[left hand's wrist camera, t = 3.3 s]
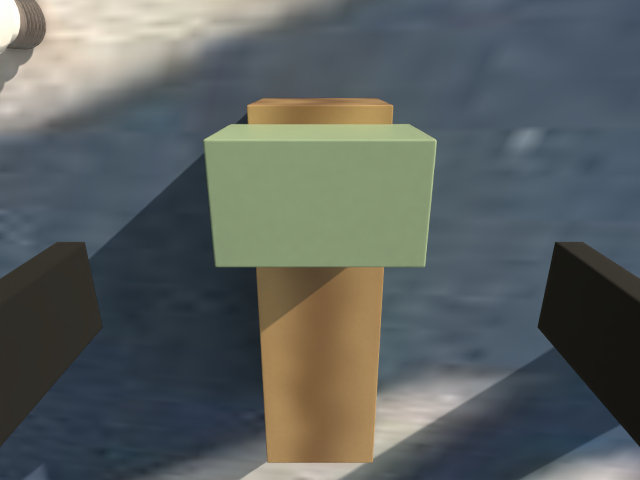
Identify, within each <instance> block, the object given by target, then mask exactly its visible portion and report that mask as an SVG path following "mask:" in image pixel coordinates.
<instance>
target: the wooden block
mask: <svg viewBox="0 0 640 480" xmlns="http://www.w3.org/2000/svg"><path fill="white" fill-rule="evenodd" d="M392 115H393V105H390V104H388V103H386V102H384V101H381V100H379V99H377V98H263V99H261V100H259V101H256V102H254V103H252V104H250V105H247V116H248V124H392ZM256 272H257V290H258V307H259V325H260V342H261V360H262V377H263V395H264V412H265V429H266V447H267V462H268V463H372V462H373V447H374V429H375V412H376V394H377V377H378V359H379V342H380V325H381V307H382V290H383V272H384V267H256Z"/></svg>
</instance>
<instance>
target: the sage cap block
mask: <svg viewBox="0 0 640 480" xmlns="http://www.w3.org/2000/svg"><path fill="white" fill-rule="evenodd" d="M203 143H204V154H205V165H206V175H207V186H208V197H209V207H210V218H211V228H212V239H213V250H214V260H215V266H216V267H424V266H425V260H426V250H427V239H428V228H429V218H430V207H431V196H432V186H433V175H434V165H435V154H436V143H437V141H436V139H434V138H432V137H430V136H429V135H427V134H425V133H423V132H422V131H420V130H418V129H416V128H415V127H413V126H411V125H409V124H231V125H229V126H227V127H225V128H224V129H222V130H220V131H218V132H217V133H215V134H213V135H211V136H210V137H208V138H206V139H204V141H203Z"/></svg>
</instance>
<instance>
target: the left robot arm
mask: <svg viewBox="0 0 640 480" xmlns="http://www.w3.org/2000/svg"><path fill="white" fill-rule="evenodd" d="M101 328H102V323H101V318H100V313H99V308H98V303H97V299H96V294H95V289H94V284H93V279H92V275H91V270H90V265H89V260H88V255H87V250H86V246H85V242H57V243H55V244H54V245H52V246H50V247H49V248H47V249H46V250H44V251H43V252H41V253H40V254H38V255H36V256H35V257H33V258H32V259H30V260H29V261H27V262H26V263H24V264H22V265H21V266H19V267H18V268H16V269H15V270H13V271H12V272H10V273H9V274H7V275H5V276H4V277H2V278H1V279H0V447H1V445H2V444H3V443H4V442H5V441H6V439H7V438H8V437H9V436H10V435H11V434H12V432H13V431H14V430H15V429H16V428H17V427H18V425H19V424H20V423H21V422H22V421H23V420H24V418H25V417H26V416H27V415H28V414H29V413H30V411H31V410H32V409H33V408H34V407H35V406H36V404H37V403H38V402H39V401H40V400H41V399H42V397H43V396H44V395H45V394H46V393H47V392H48V390H49V389H50V388H51V387H52V386H53V384H54V383H55V382H56V381H57V380H58V379H59V377H60V376H61V375H62V374H63V373H64V372H65V370H66V369H67V368H68V367H69V366H70V365H71V363H72V362H73V361H74V360H75V359H76V358H77V356H78V355H79V354H80V353H81V352H82V351H83V349H84V348H85V347H86V346H87V345H88V344H89V342H90V341H91V340H92V339H93V338H94V337H95V335H96V334H97V333H98V332H99V331H100V329H101ZM538 328H539V330H540V331H541V332H542V333H543V334H544V335H545V337H546V338H547V339H548V340H549V341H550V342H551V344H552V345H553V346H554V347H555V348H556V349H557V351H558V352H559V353H560V354H561V355H562V356H563V358H564V359H565V360H566V361H567V362H568V363H569V365H570V366H571V367H572V368H573V369H574V370H575V372H576V373H577V374H578V375H579V376H580V377H581V379H582V380H583V381H584V382H585V383H586V384H587V386H588V387H589V388H590V389H591V390H592V392H593V393H594V394H595V395H596V396H597V397H598V399H599V400H600V401H601V402H602V403H603V404H604V406H605V407H606V408H607V409H608V410H609V411H610V413H611V414H612V415H613V416H614V417H615V418H616V420H617V421H618V422H619V423H620V424H621V425H622V427H623V428H624V429H625V430H626V431H627V432H628V434H629V435H630V436H631V437H632V438H633V439H634V441H635V442H636V443H637V444H638V445H639V447H640V279H639V278H638V277H636V276H635V275H633V274H631V273H630V272H628V271H627V270H625V269H624V268H622V267H621V266H619V265H618V264H616V263H614V262H613V261H611V260H610V259H608V258H607V257H605V256H604V255H602V254H600V253H599V252H597V251H596V250H594V249H593V248H591V247H590V246H588V245H586V244H585V243H583V242H555V246H554V250H553V255H552V260H551V265H550V270H549V275H548V279H547V284H546V289H545V294H544V299H543V303H542V308H541V313H540V318H539V323H538Z"/></svg>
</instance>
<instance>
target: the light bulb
mask: <svg viewBox="0 0 640 480" xmlns="http://www.w3.org/2000/svg"><path fill="white" fill-rule="evenodd" d="M45 31H46V24H45V19H44V15H43V13H42V11H41V9H40V7H39V5H38V4H37V2H36V1H35V0H0V55H1V54H2V53H3V52H4V51H5V50H6V48H17V49H30V48H34V47H36V46H37V45H39V44H40V43H41V41H42V40H43V38H44V35H45Z"/></svg>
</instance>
